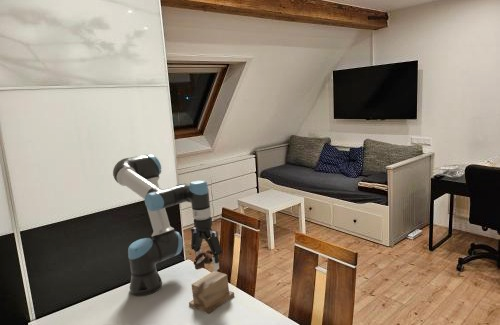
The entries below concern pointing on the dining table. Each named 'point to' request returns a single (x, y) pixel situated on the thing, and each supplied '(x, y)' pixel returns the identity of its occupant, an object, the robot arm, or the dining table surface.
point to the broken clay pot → (206, 260)
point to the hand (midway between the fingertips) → (208, 267)
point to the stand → (210, 292)
